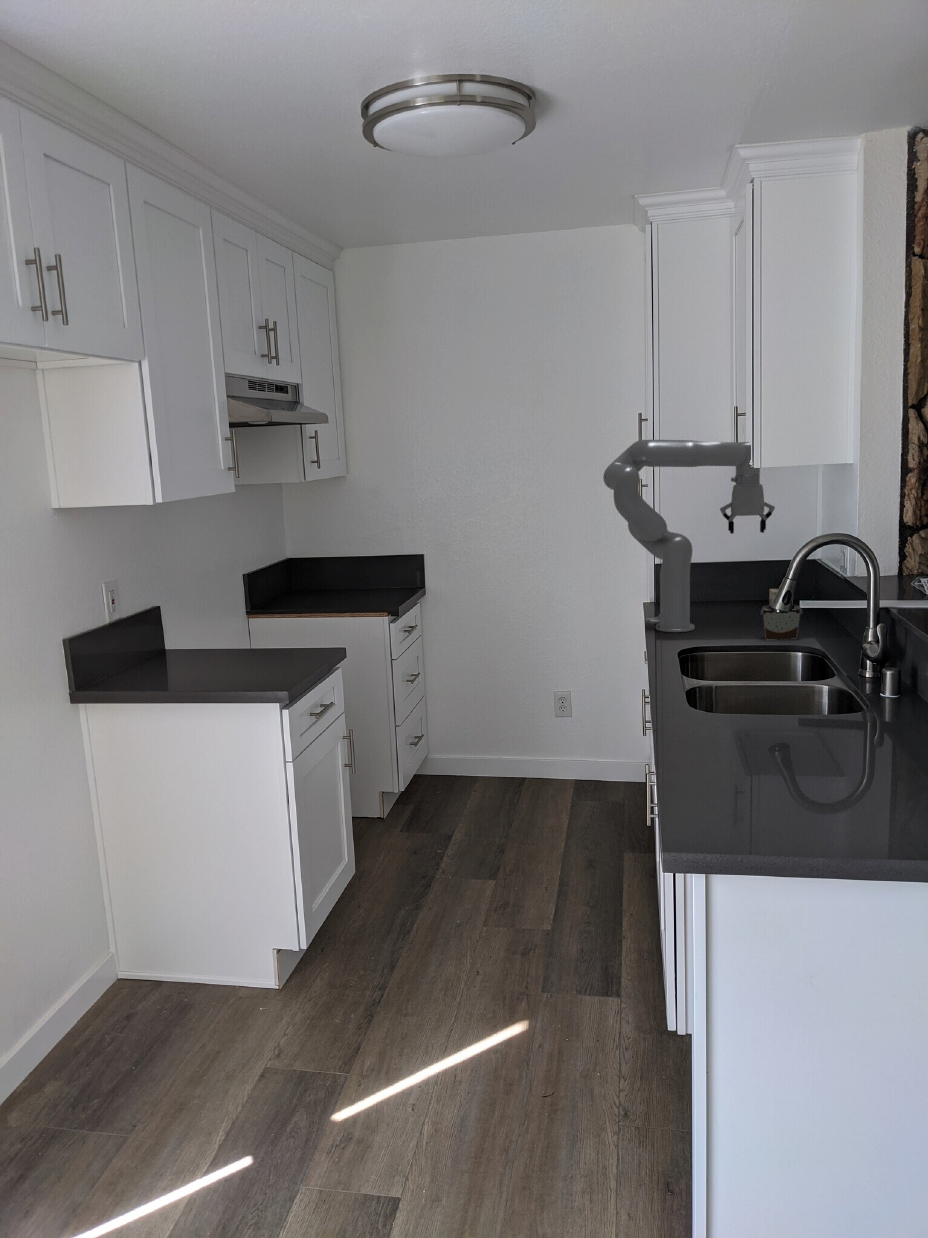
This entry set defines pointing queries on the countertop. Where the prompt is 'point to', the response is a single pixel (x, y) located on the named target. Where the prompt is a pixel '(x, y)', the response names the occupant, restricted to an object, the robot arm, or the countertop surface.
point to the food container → (781, 623)
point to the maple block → (772, 595)
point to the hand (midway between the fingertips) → (746, 532)
